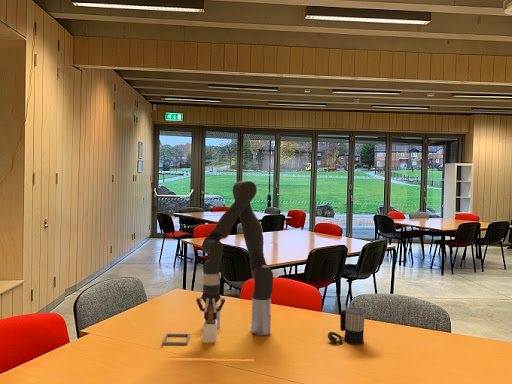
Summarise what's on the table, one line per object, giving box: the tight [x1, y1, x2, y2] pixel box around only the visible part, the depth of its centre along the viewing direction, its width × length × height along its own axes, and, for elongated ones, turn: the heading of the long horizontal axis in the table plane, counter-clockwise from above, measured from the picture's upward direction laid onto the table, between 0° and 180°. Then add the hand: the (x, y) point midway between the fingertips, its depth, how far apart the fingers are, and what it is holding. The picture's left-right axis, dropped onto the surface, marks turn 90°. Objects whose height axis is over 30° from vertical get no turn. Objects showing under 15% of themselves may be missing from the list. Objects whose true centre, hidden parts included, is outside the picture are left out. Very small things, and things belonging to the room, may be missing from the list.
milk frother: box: [327, 307, 366, 345], centre depth 208 cm, size 14×16×15 cm
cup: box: [201, 319, 218, 344], centre depth 202 cm, size 6×6×9 cm
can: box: [204, 303, 221, 329], centre depth 220 cm, size 8×8×12 cm
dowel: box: [207, 305, 214, 324], centre depth 202 cm, size 3×3×16 cm
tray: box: [162, 333, 191, 347], centre depth 201 cm, size 11×11×2 cm
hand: (210, 319), depth 202 cm, fingers closed on dowel, 3 cm apart
